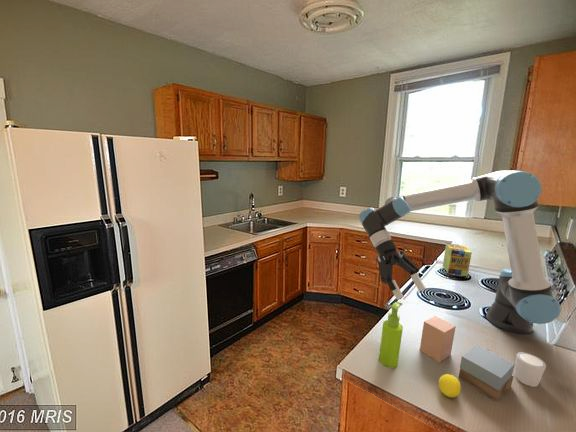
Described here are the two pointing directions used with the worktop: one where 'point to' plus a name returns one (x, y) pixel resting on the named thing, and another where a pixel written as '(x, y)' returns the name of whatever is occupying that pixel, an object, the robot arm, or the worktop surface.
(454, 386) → the lemon
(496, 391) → the tower base block
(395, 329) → the soap dispenser
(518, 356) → the white cylinder
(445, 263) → the protein box
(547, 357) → the worktop surface
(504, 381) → the tower top block
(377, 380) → the worktop surface
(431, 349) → the terracotta block
